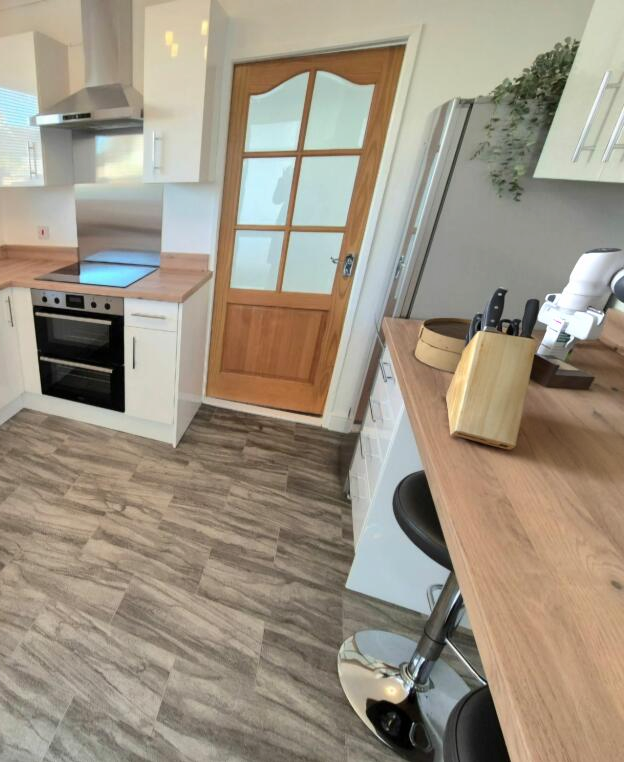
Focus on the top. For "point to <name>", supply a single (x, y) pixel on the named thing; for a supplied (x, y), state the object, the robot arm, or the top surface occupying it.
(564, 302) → the robot arm
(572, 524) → the top surface
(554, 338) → the syrup box
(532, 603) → the top surface
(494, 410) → the knife block
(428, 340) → the steamer basket
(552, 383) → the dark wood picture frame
